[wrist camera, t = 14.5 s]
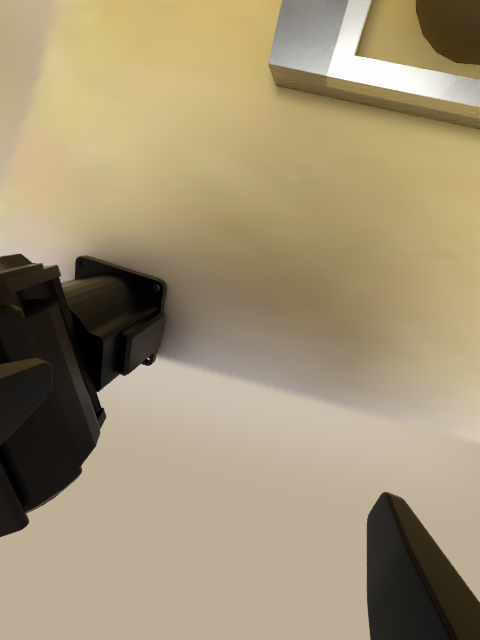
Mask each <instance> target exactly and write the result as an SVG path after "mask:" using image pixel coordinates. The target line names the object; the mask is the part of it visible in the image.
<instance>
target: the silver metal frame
mask: <svg viewBox="0 0 480 640" xmlns="http://www.w3.org/2000/svg"><path fill="white" fill-rule="evenodd" d="M372 3H373V0H282V5H281V9H280V14H279V18H278V23H277V27H276V32H275V36H274V41H273V45H272V50H271V54H270V59H269V63H268V64H269V67H270V70H271V73H272V76H273V78H274V81H275V84H276V85H278V86H283V87H287V88H292V89H297V90H301V91H306V92H311V93H315V94H320V95H325V96H329V97H334V98H338V99H343V100H348V101H352V102H357V103H362V104H366V105H371V106H376V107H380V108H385V109H390V110H394V111H399V112H404V113H408V114H413V115H418V116H422V117H427V118H432V119H436V120H441V121H446V122H450V123H455V124H460V125H464V126H469V127H473V128H478V129H480V80H478V79H473V78H468V77H463V76H458V75H453V74H447V73H442V72H437V71H432V70H427V69H422V68H417V67H411V66H406V65H401V64H396V63H391V62H386V61H381V60H375V59H370V58H365V57H360V56H356V54H357V51H358V48H359V44H360V41H361V38H362V35H363V32H364V28H365V25H366V22H367V19H368V16H369V12H370V9H371V6H372Z"/></svg>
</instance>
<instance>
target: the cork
mask: <svg viewBox="0 0 480 640" xmlns="http://www.w3.org/2000/svg"><path fill="white" fill-rule="evenodd" d="M416 12H417V15H418V19H419V22H420V26H421V29H422V32H423V35H424V36H425V38H426V39H427V40H428V41H429V43H430V44H431V45H432V47H433V48H434V49H435V51H436V52H437V53H439V54H441V55H443V56H445V57H447V58H449V59H451V60H452V61H454V62H456V63H467V64H478V65H480V0H416Z"/></svg>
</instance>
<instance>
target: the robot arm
mask: <svg viewBox="0 0 480 640" xmlns="http://www.w3.org/2000/svg"><path fill="white" fill-rule="evenodd" d="M83 261H84V262H85V266H84V264H83ZM59 276H61V274H60V271H59V268H58V265H52V266H43V264H42V263H39V264H35V263H32V262H30V261H29V260H28V259H27V258H25V257H24V256H23V255H22V254H15V255H8V256H2V257H0V537H2V536H5V535H8V534H11V533H14V532H17V531H20V530H22V529H23V528H24V527H26V526H27V525H28V523H29V519H28V517H27V514H26V513H28V512H31V511H33V510H35V509H37V508H38V507H40V506H42V505H44V504H46V503H47V502H48V501H50V500H52V499H53V498H54V497H56V496H57V495H58V494H59V493H61V492H62V491H63V490H64V489H66V488H67V487H68V486H69V485H70V484H71V483H73V482H74V481H75V480H76V479H77V478H78V476H79V475H80V474H81V472H82V468H81V466H82V464H83V462H84V461H85V460H86V458H87V457H88V456H89V454H90V453H91V452H92V451H93V449H94V448H95V447H96V444H97V441H98V438H99V435H100V428H101V427H102V424H103V423H104V420H105V419H106V414H105V411H104V408H101V405H100V402H99V399H98V396H97V393H96V392H99V391H100V390H101V389H103V388H104V387H105V386H106V385H107V384H109V383H110V382H111V381H112V380H113V379H115V378H116V377H117V376H118V375H119V374H121V375H123V376H125V375H127V374H129V373H130V372H132V371H133V370H134V369H135V368H136V367H137V366H138V365H140V364H143V365H146V366H149V365H151V364H152V363H153V362H155V359H156V353H157V349H158V348H159V347H160V345H161V339H162V333H163V326H164V320H165V315H164V313H163V307H164V300H165V294H166V285H165V283H164V282H163V281H162V280H160V279H157V278H154V277H151V276H148V275H145V274H141V273H138V272H135V271H132V270H129V269H126V268H123V267H120V266H116V265H113V264H110V263H107V262H104V261H101V260H98V259H95V258H92V257H88V256H80V257H77V259H76V262H75V280H71V281H68V282H65V283H61V282H60V278H59ZM156 284H157V285H159V287H160V290H157V288H156ZM147 358H149V359H150V360H148V359H147ZM367 604H368V617H369V628H370V638H371V640H480V602H479V601H478V600H477V598H476V597H475V595H474V594H473V593H472V591H471V590H470V589H469V587H468V586H467V585H466V583H465V582H464V580H463V579H462V578H461V576H460V575H459V574H458V572H457V571H456V569H455V568H454V567H453V565H452V564H451V563H450V561H449V560H448V559H447V557H446V556H445V555H444V553H443V552H442V551H441V549H440V548H439V546H438V545H437V544H436V542H435V541H434V539H433V538H432V537H431V536H430V534H429V533H428V531H427V530H426V529H425V528H424V526H423V525H422V523H421V522H420V520H419V519H418V518H417V516H416V515H415V514H414V512H413V511H412V510H411V508H410V507H409V505H408V504H407V503H406V502H405V500H404V499H402V498H401V497H399V496H396V495H394V494H391V493H388V492H384V493H382V494H381V495H380V497H379V498H378V500H377V502H376V503H375V505H374V506H373V508H372V510H371V511H370V513H369V515H368V519H367Z"/></svg>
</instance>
